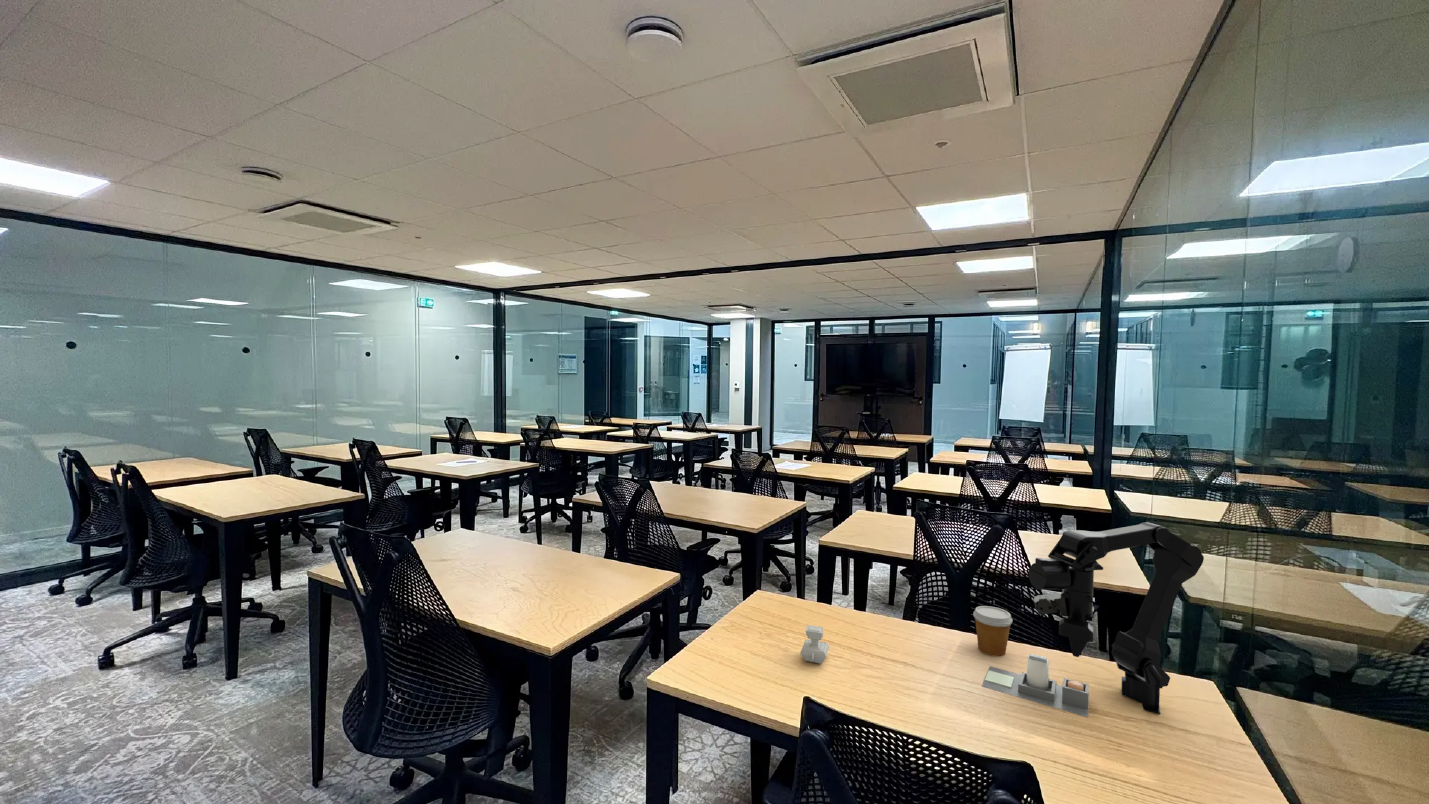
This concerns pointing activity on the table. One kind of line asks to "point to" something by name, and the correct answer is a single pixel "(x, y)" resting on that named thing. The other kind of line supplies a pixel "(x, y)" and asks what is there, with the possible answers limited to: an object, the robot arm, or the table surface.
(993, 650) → the disposable coffee cup
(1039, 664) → the cartridge
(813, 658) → the stamp
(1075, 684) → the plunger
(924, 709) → the table surface
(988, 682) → the housing
